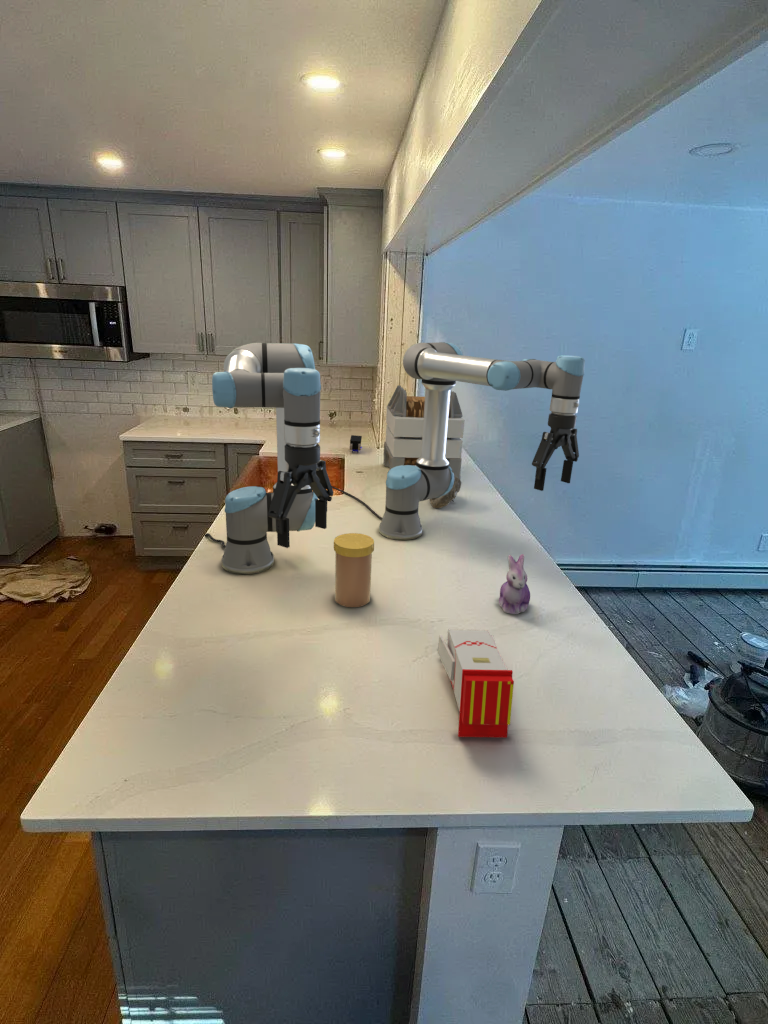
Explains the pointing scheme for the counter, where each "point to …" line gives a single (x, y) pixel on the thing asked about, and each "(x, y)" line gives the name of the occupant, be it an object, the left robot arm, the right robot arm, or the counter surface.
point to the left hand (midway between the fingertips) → (303, 536)
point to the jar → (352, 580)
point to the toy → (478, 682)
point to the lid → (353, 545)
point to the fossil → (447, 495)
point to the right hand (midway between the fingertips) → (552, 485)
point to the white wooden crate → (418, 431)
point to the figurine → (515, 588)
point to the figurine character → (355, 443)
